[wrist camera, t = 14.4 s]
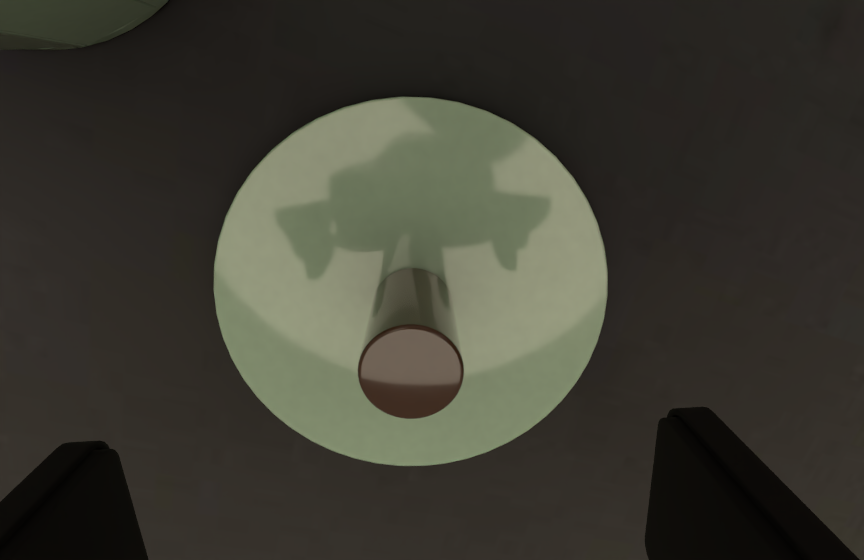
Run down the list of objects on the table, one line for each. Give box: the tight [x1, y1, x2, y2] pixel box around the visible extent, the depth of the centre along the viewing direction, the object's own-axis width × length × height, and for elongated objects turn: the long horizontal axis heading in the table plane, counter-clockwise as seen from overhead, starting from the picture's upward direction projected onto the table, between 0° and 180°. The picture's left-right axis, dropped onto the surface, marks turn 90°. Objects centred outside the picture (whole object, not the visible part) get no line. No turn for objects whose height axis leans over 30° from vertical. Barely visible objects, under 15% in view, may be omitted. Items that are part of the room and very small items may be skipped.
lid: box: [214, 97, 608, 466], centre depth 15 cm, size 13×13×6 cm
